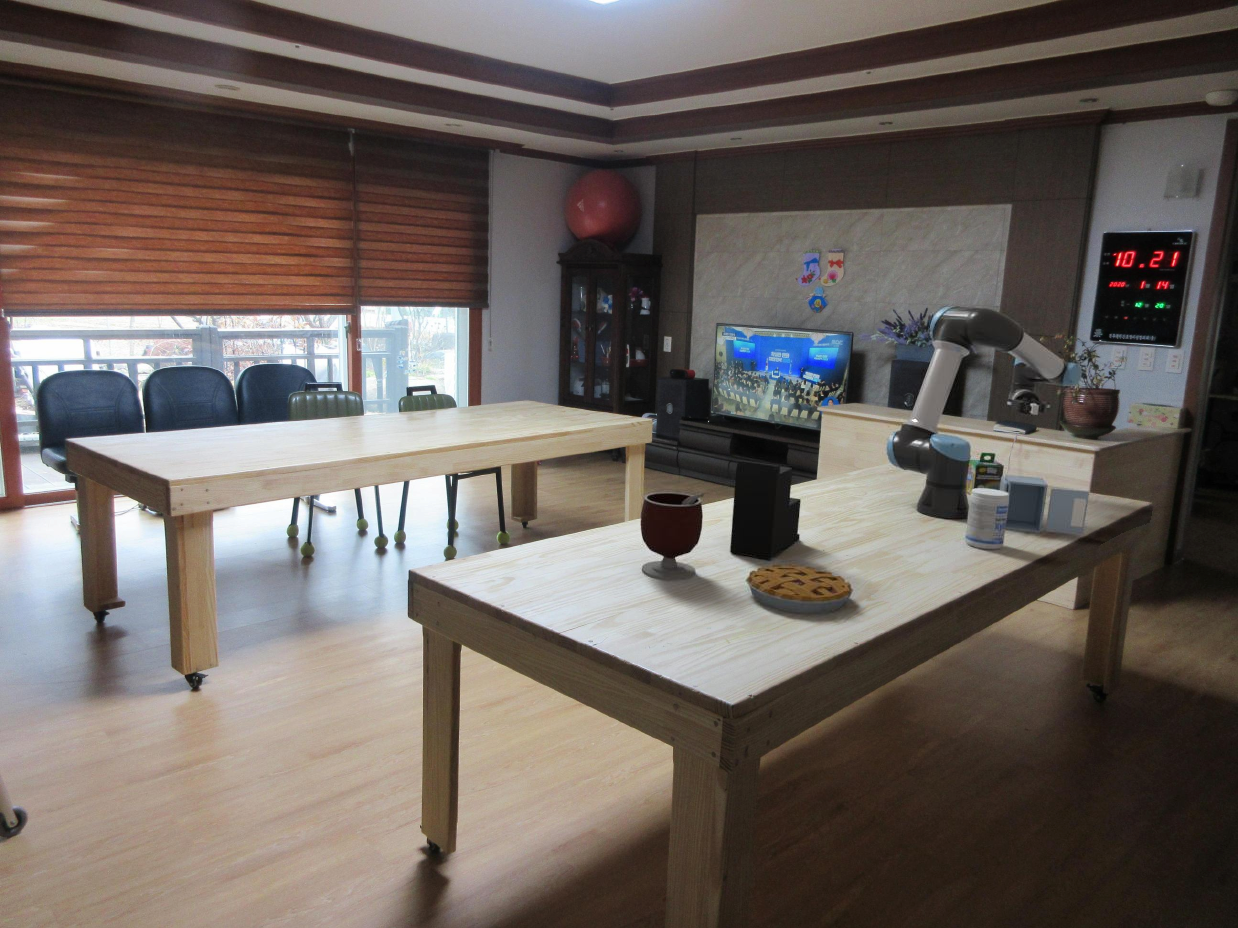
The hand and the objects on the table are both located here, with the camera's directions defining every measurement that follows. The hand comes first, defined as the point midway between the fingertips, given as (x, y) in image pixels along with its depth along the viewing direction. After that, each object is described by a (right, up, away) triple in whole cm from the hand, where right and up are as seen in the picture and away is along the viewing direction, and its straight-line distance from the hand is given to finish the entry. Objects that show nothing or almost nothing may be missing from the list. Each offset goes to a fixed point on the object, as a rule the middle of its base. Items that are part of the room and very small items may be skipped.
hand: (1035, 410), depth 271 cm
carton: (-11, -35, -13) cm, 39 cm away
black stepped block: (-90, -38, -46) cm, 108 cm away
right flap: (-2, -36, -21) cm, 42 cm away
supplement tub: (-30, -38, -35) cm, 60 cm away
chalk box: (-5, -27, +27) cm, 39 cm away
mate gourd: (-116, -41, -70) cm, 141 cm away
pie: (-90, -45, -83) cm, 130 cm away
